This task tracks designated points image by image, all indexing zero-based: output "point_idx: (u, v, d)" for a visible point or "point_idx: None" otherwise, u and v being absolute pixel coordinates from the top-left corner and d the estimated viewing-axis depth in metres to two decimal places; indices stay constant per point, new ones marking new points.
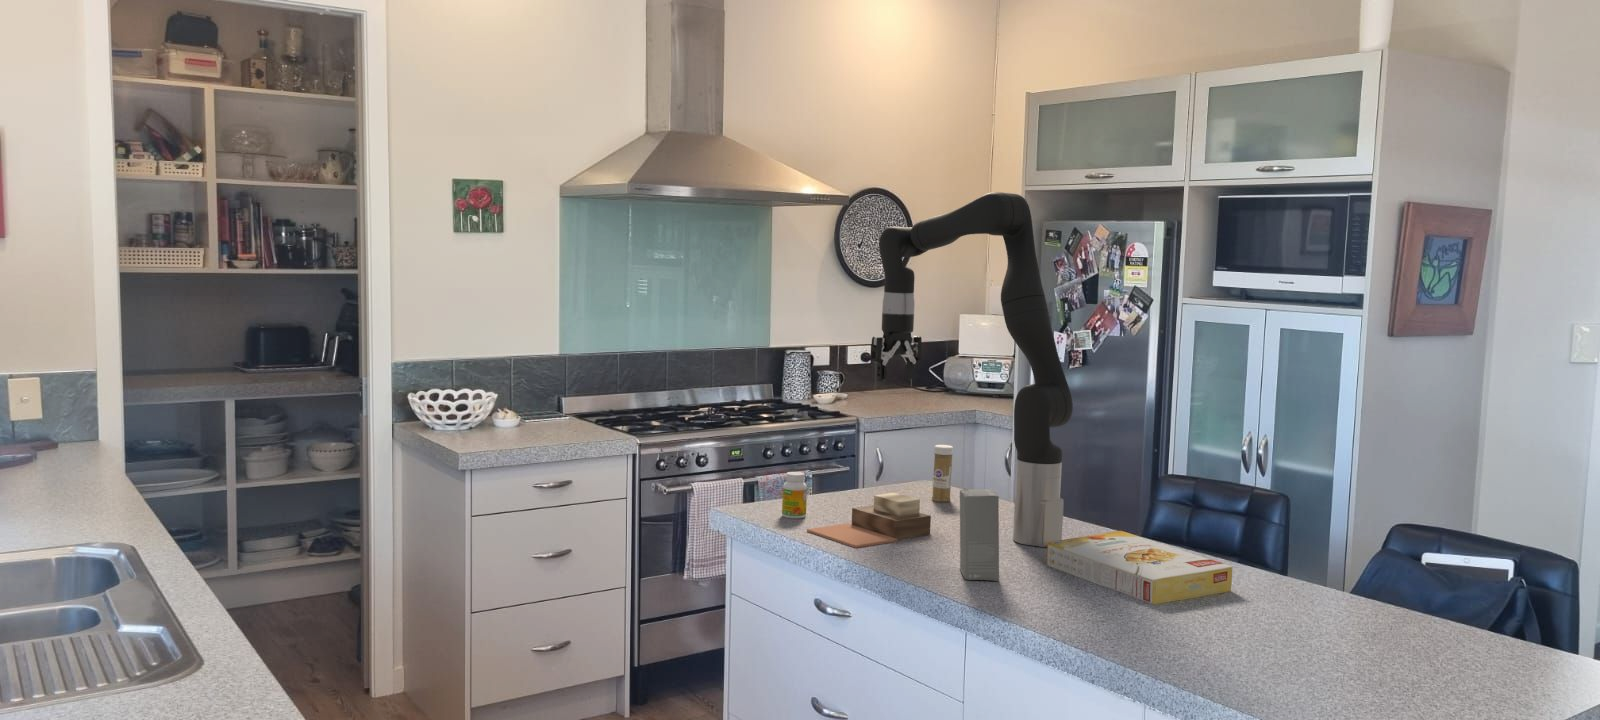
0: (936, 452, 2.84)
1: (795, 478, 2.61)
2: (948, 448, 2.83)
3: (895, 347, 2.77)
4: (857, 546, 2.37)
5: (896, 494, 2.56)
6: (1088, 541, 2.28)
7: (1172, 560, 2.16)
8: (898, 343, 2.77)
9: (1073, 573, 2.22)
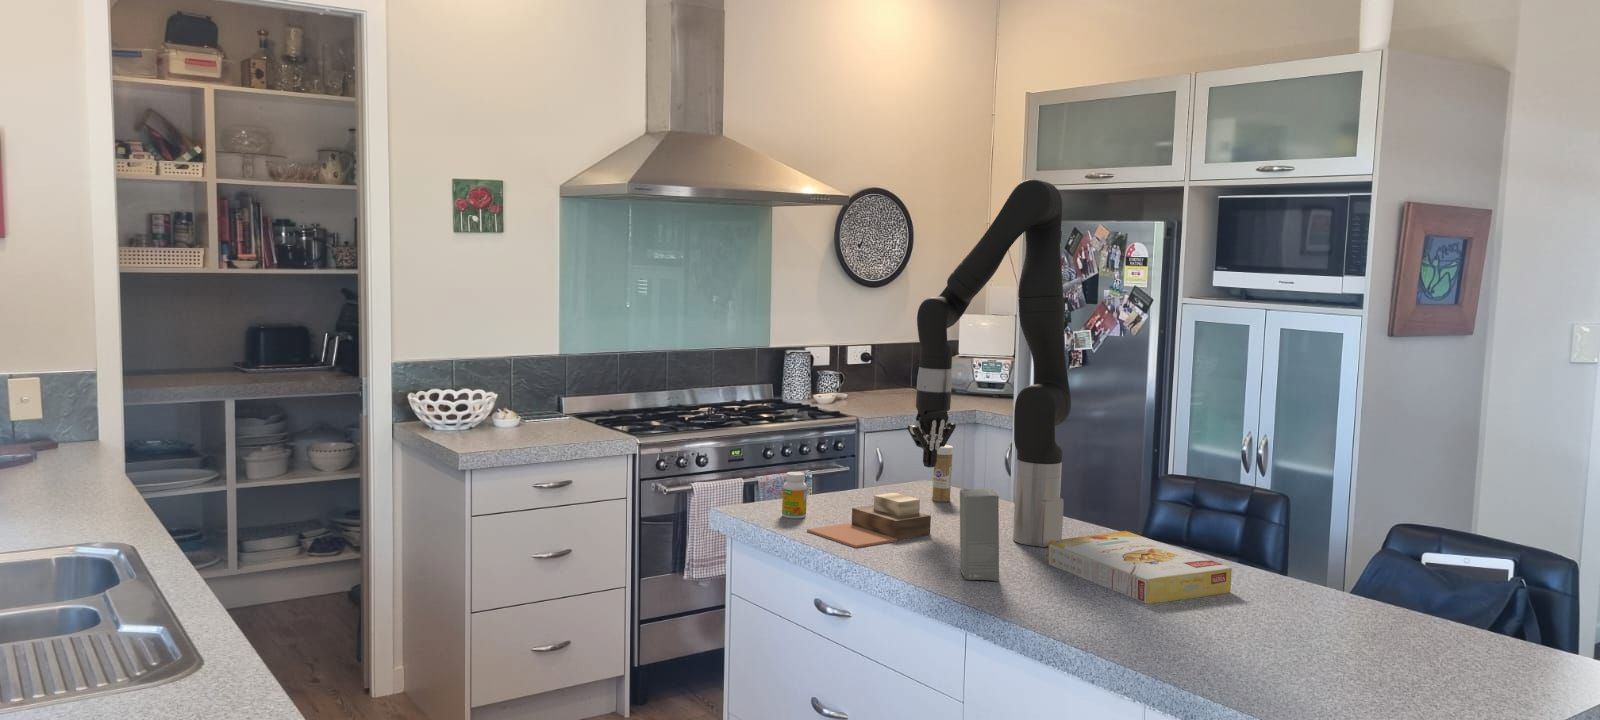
0: None
1: (795, 478, 2.61)
2: (948, 448, 2.83)
3: (933, 428, 2.56)
4: (857, 546, 2.37)
5: (896, 494, 2.56)
6: (1089, 541, 2.28)
7: (1171, 560, 2.15)
8: (934, 422, 2.56)
9: (1072, 572, 2.23)
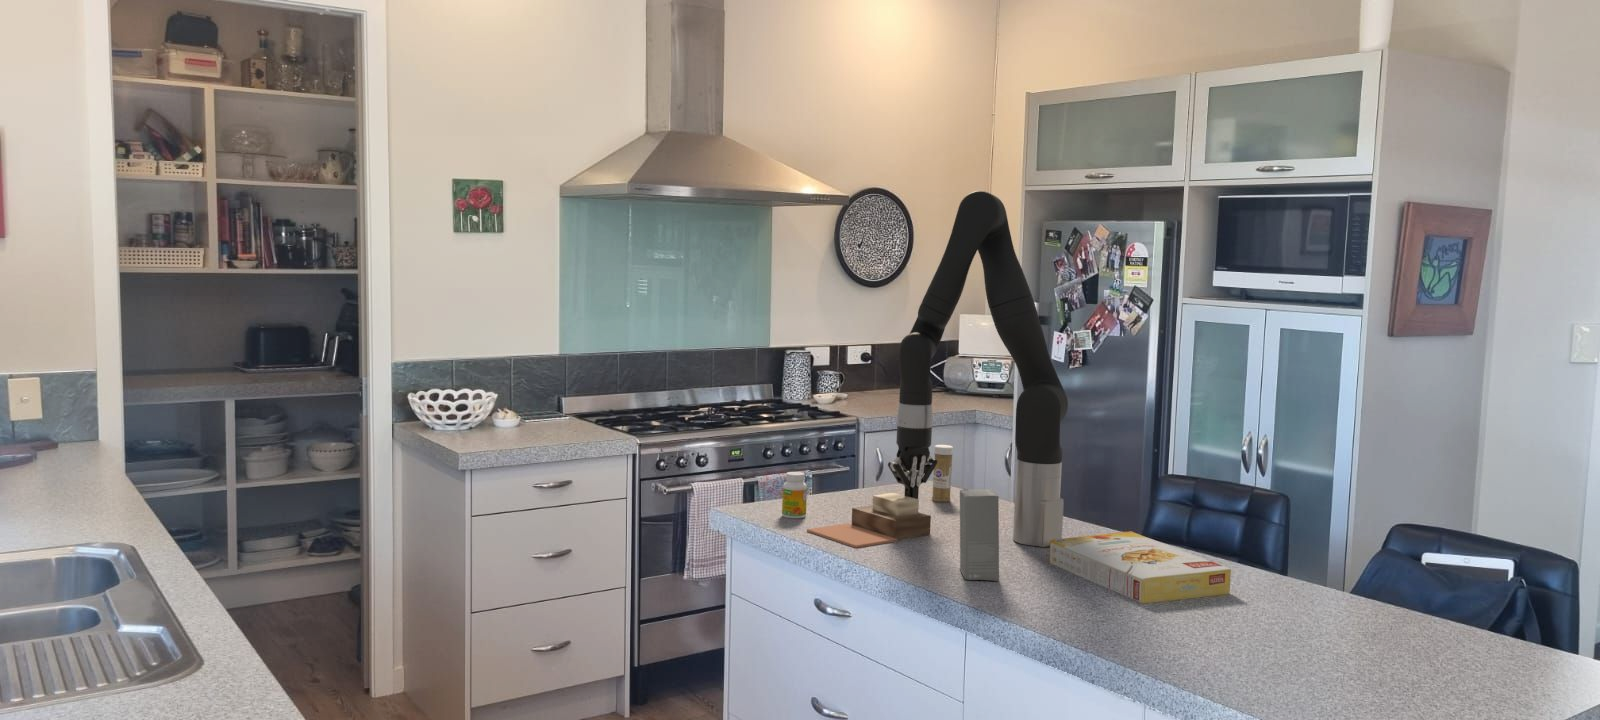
0: (936, 452, 2.84)
1: (795, 478, 2.61)
2: (948, 448, 2.83)
3: (914, 464, 2.53)
4: (857, 546, 2.37)
5: (895, 494, 2.56)
6: (1091, 540, 2.28)
7: (1169, 561, 2.15)
8: (915, 458, 2.53)
9: (1072, 571, 2.23)
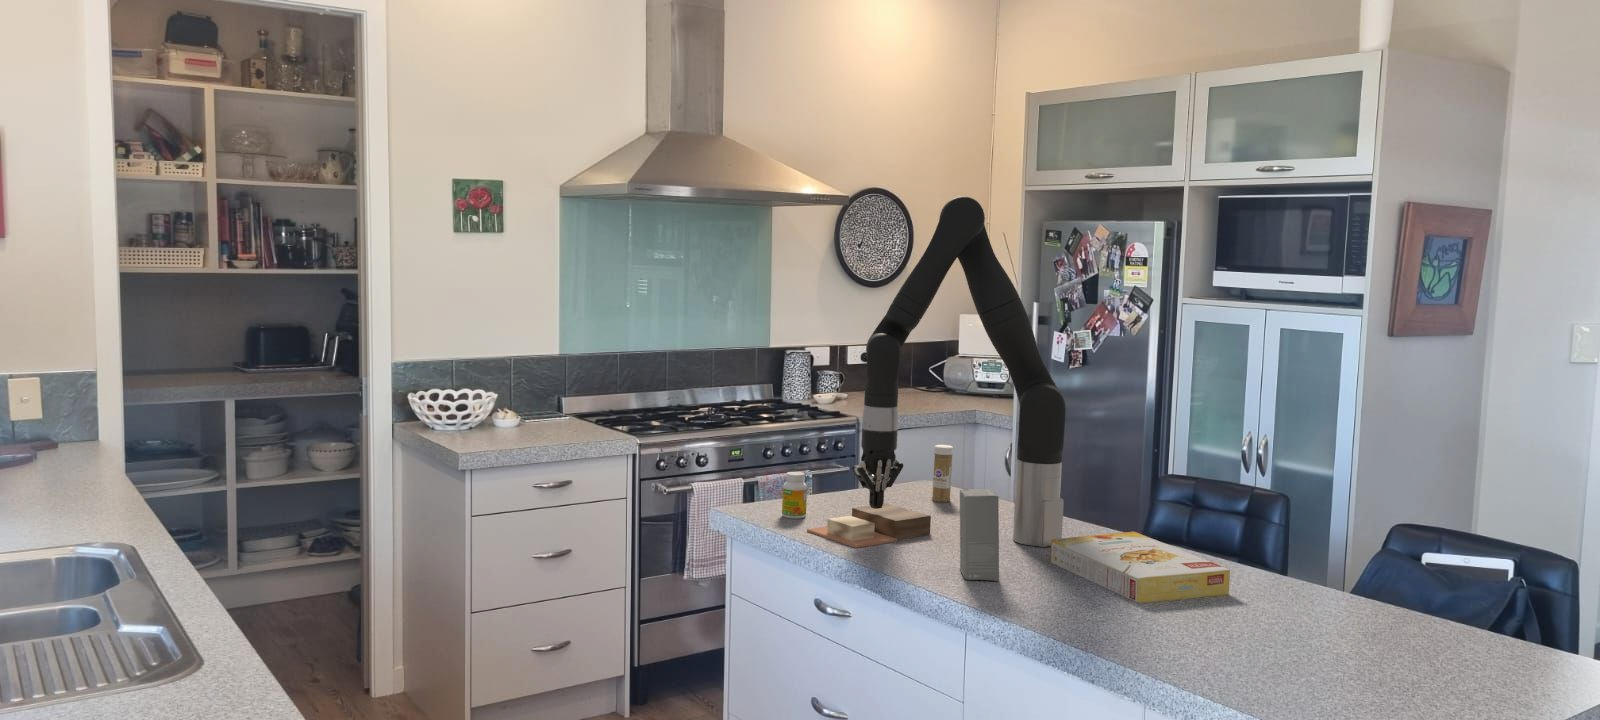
0: (936, 452, 2.84)
1: (795, 478, 2.61)
2: (948, 448, 2.83)
3: (879, 468, 2.47)
4: (857, 546, 2.37)
5: None
6: (1092, 540, 2.29)
7: (1168, 561, 2.15)
8: (880, 462, 2.47)
9: (1072, 570, 2.24)
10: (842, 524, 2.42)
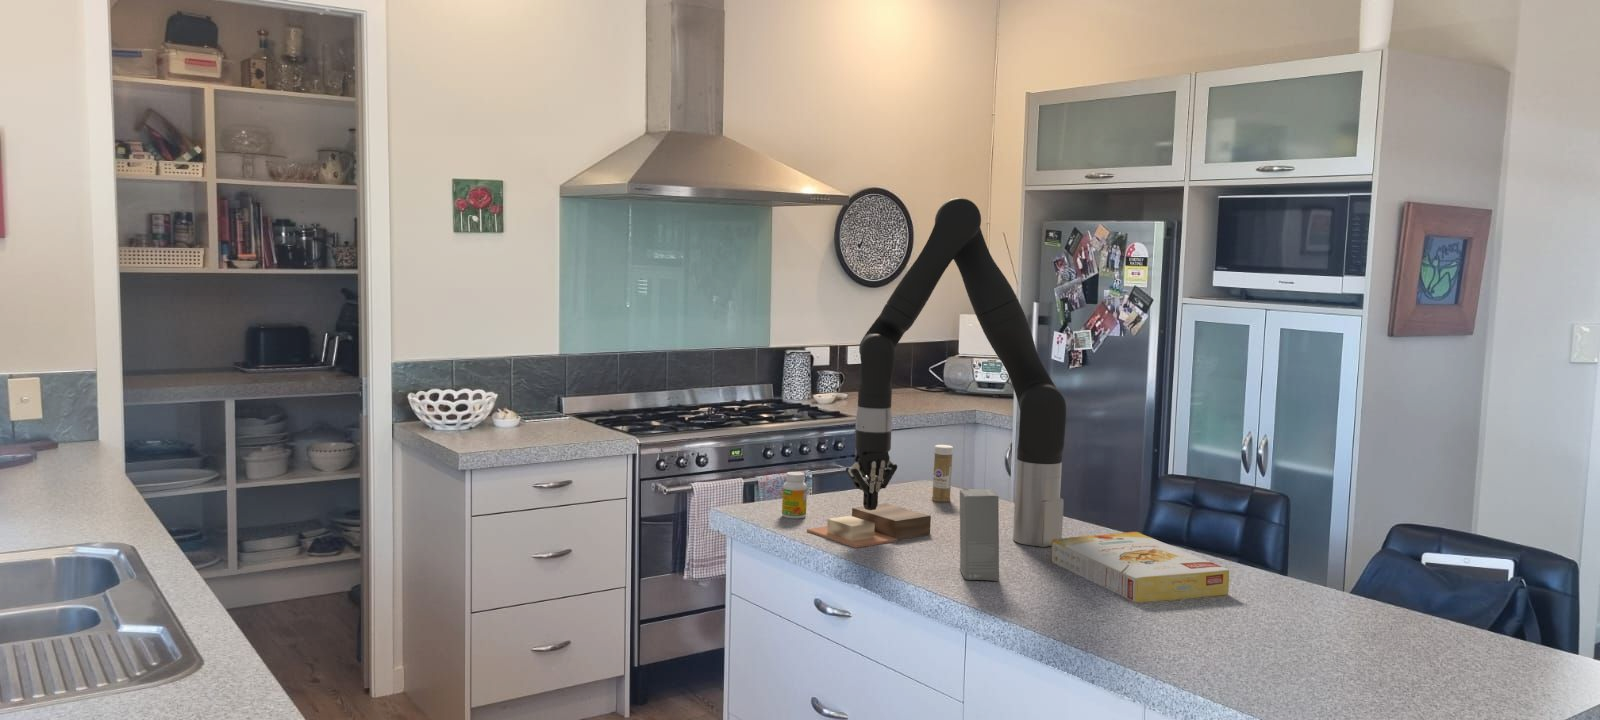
0: (936, 452, 2.84)
1: (795, 478, 2.61)
2: (949, 448, 2.83)
3: (873, 469, 2.46)
4: (857, 546, 2.37)
5: None
6: (1093, 540, 2.29)
7: (1168, 561, 2.15)
8: (874, 463, 2.46)
9: (1072, 570, 2.24)
10: (842, 524, 2.42)
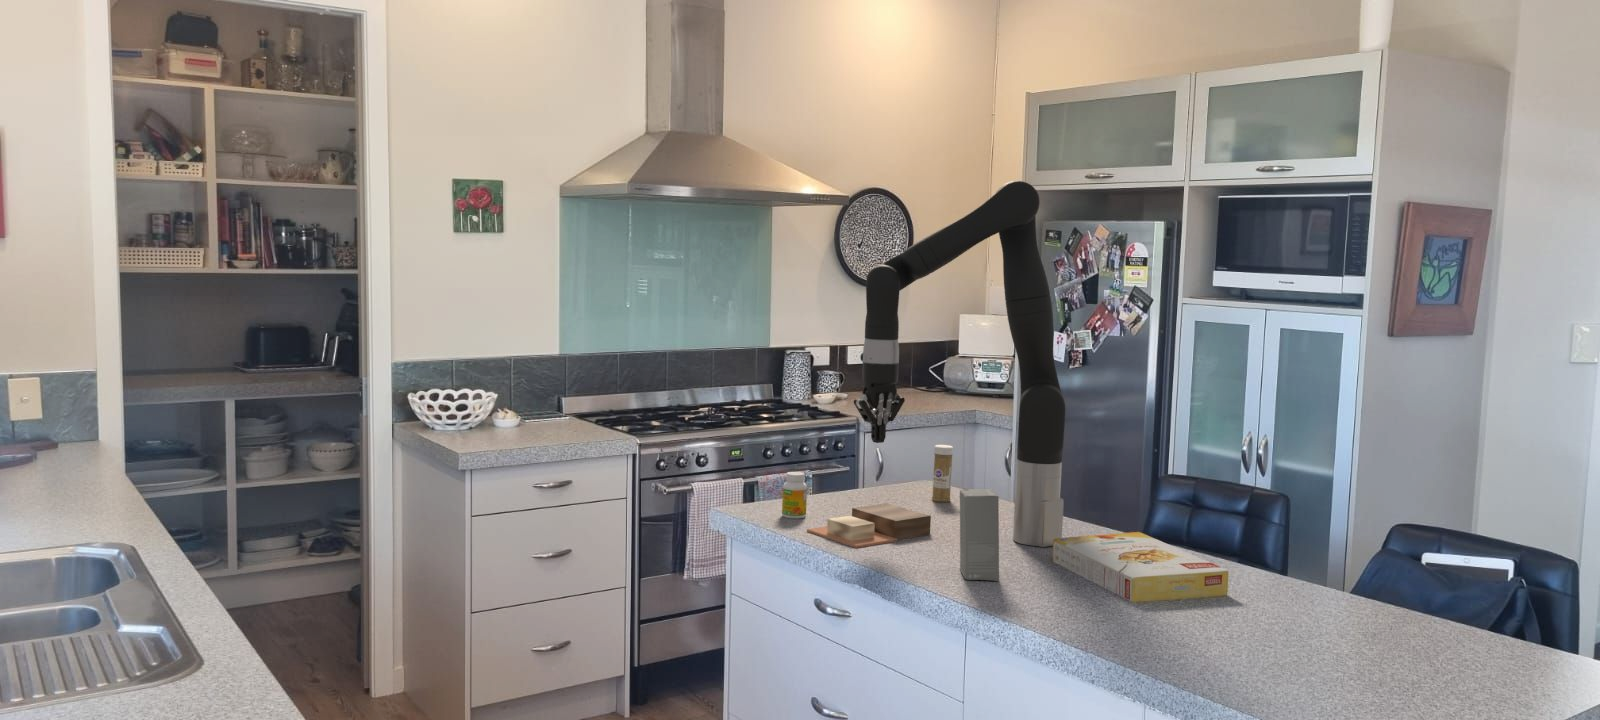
0: (936, 452, 2.84)
1: (795, 478, 2.61)
2: (948, 448, 2.83)
3: (881, 401, 2.46)
4: (857, 546, 2.37)
5: None
6: (1094, 540, 2.29)
7: (1167, 561, 2.15)
8: (881, 395, 2.46)
9: (1072, 569, 2.24)
10: (842, 524, 2.42)
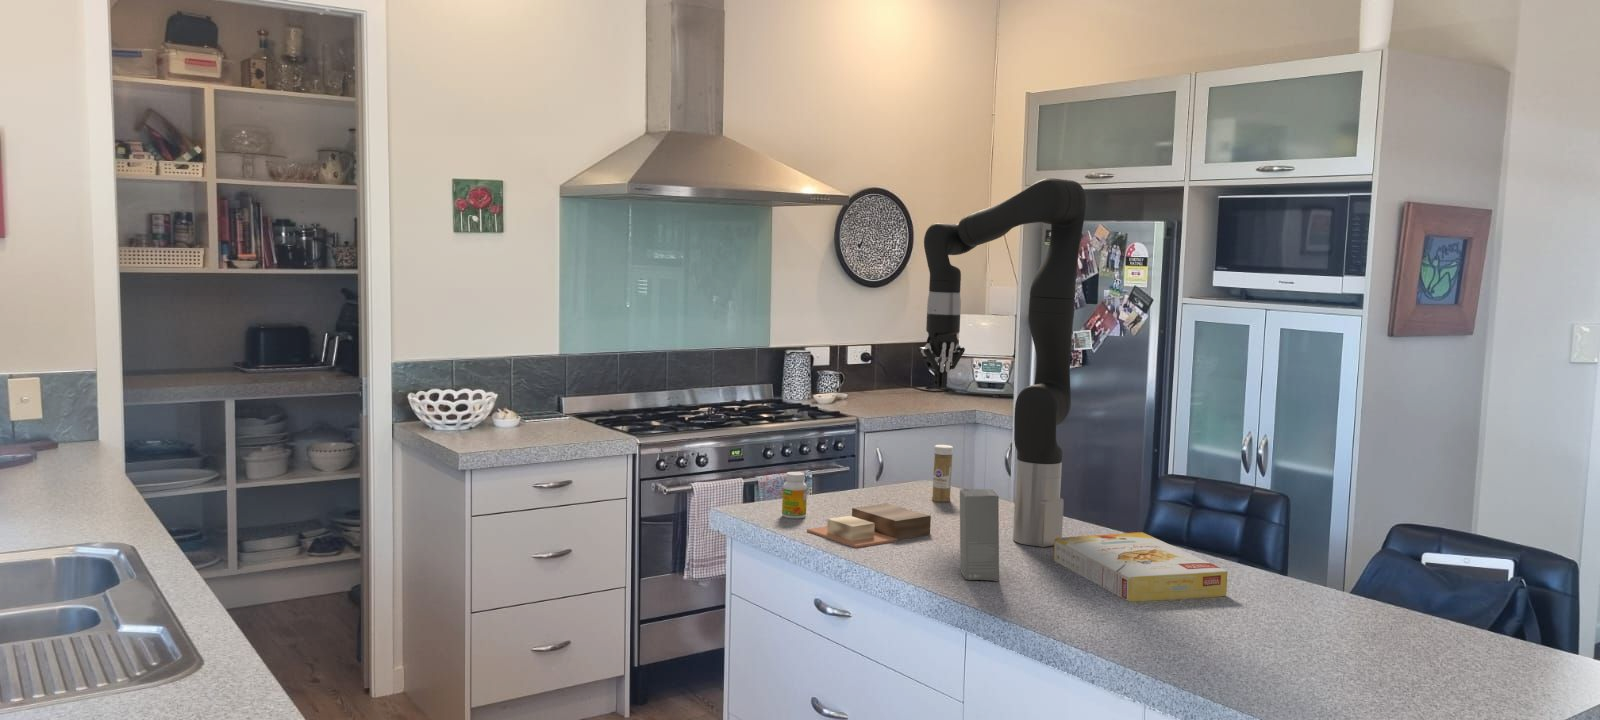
0: (936, 452, 2.84)
1: (795, 478, 2.61)
2: (948, 448, 2.83)
3: (943, 350, 2.65)
4: (857, 546, 2.37)
5: None
6: (1095, 539, 2.29)
7: (1166, 561, 2.15)
8: (944, 344, 2.65)
9: (1072, 569, 2.25)
10: (842, 524, 2.42)
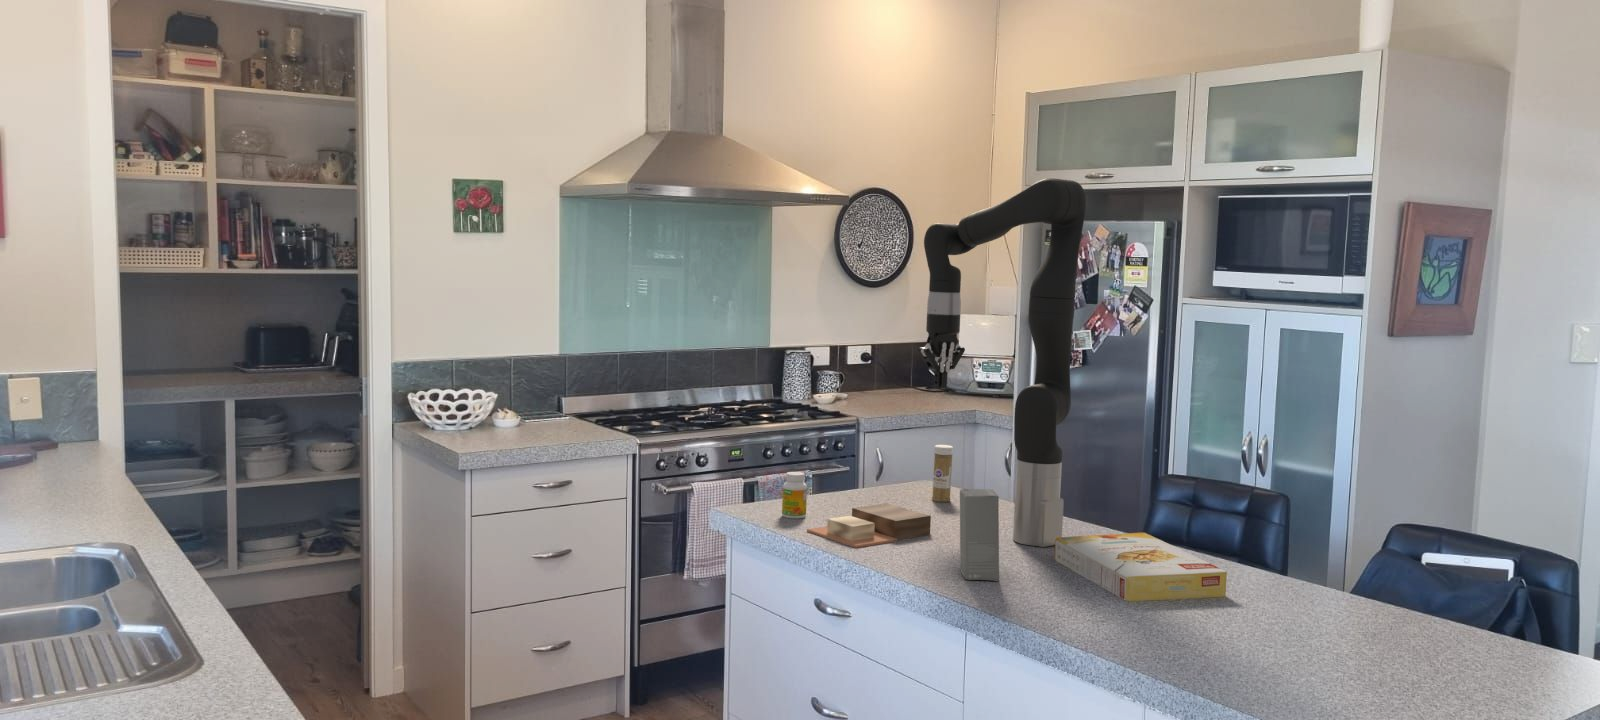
0: (936, 452, 2.84)
1: (795, 478, 2.61)
2: (948, 448, 2.83)
3: (943, 350, 2.65)
4: (857, 546, 2.37)
5: None
6: (1096, 539, 2.30)
7: (1165, 561, 2.15)
8: (944, 344, 2.65)
9: (1072, 568, 2.25)
10: (842, 524, 2.42)
